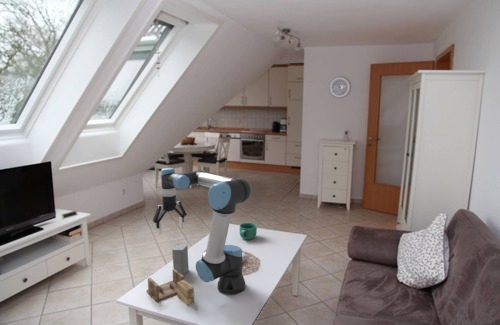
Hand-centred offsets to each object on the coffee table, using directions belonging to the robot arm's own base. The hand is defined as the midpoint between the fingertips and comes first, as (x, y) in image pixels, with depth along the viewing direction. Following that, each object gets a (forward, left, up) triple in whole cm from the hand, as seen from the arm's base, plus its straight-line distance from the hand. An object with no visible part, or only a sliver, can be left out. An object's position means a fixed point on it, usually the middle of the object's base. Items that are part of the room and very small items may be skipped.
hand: (170, 230), depth 196 cm
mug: (+9, -66, -26) cm, 71 cm away
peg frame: (-17, +12, -26) cm, 33 cm away
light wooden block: (-30, +8, -26) cm, 40 cm away
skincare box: (-4, -4, -26) cm, 26 cm away
